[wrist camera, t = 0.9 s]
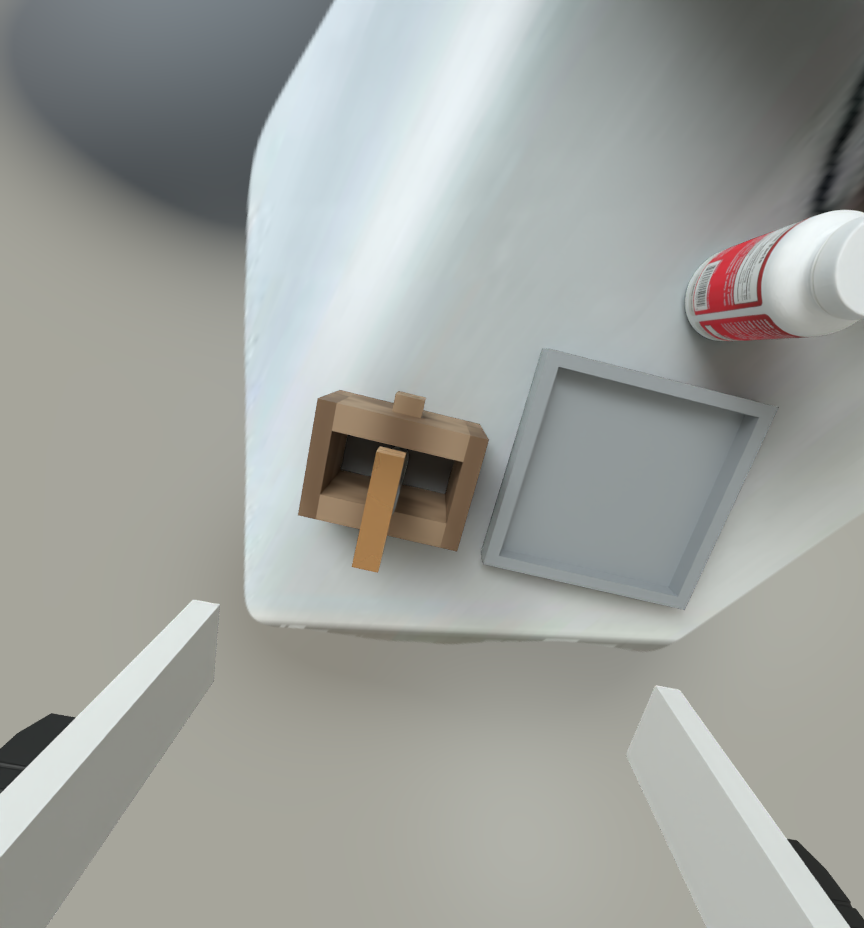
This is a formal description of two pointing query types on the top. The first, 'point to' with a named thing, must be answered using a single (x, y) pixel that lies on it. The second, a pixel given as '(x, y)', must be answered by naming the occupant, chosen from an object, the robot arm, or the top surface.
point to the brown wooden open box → (402, 426)
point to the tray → (621, 479)
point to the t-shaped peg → (380, 506)
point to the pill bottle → (783, 282)
